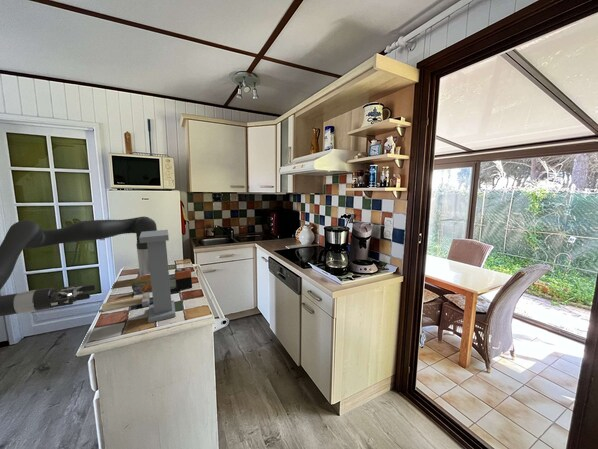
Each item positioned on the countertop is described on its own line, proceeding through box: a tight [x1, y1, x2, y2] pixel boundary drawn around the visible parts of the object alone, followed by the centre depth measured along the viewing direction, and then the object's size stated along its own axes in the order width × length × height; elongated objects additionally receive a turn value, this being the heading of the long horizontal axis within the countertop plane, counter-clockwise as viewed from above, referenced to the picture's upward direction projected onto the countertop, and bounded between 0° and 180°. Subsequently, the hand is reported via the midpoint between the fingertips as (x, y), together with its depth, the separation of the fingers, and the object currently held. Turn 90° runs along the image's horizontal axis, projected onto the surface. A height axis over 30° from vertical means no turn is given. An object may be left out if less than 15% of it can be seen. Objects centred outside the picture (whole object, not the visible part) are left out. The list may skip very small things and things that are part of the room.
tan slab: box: [101, 292, 151, 312], centre depth 105 cm, size 10×16×2 cm, turn 119°
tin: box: [131, 274, 152, 295], centre depth 119 cm, size 15×3×8 cm, turn 123°
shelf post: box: [139, 229, 177, 324], centre depth 97 cm, size 12×9×32 cm
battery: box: [174, 266, 193, 291], centre depth 122 cm, size 4×7×10 cm, turn 123°
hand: (92, 291), depth 99 cm, fingers open, 8 cm apart
